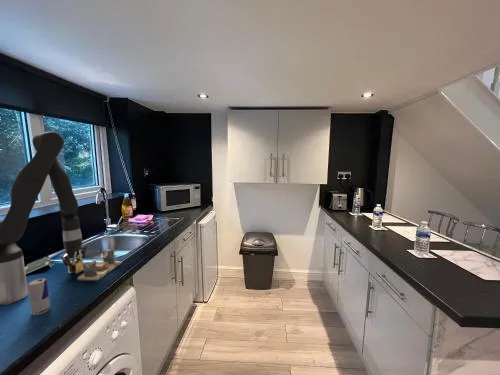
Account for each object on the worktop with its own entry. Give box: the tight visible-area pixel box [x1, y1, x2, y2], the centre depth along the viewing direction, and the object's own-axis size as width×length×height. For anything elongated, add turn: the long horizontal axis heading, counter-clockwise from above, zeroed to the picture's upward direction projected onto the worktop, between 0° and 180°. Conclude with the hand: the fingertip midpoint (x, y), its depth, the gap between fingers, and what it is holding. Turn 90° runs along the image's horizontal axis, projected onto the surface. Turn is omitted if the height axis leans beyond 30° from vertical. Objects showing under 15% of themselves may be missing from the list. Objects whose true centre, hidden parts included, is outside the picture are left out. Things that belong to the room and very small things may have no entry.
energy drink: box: [27, 277, 51, 316], centre depth 90 cm, size 5×5×12 cm
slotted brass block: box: [67, 259, 84, 274], centre depth 123 cm, size 5×4×5 cm
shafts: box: [85, 248, 112, 269], centre depth 121 cm, size 17×2×4 cm, turn 177°
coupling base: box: [77, 248, 121, 281], centre depth 122 cm, size 18×10×8 cm, turn 177°
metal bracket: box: [25, 256, 54, 275], centre depth 125 cm, size 14×6×15 cm
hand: (76, 269), depth 123 cm, fingers closed on slotted brass block, 4 cm apart
